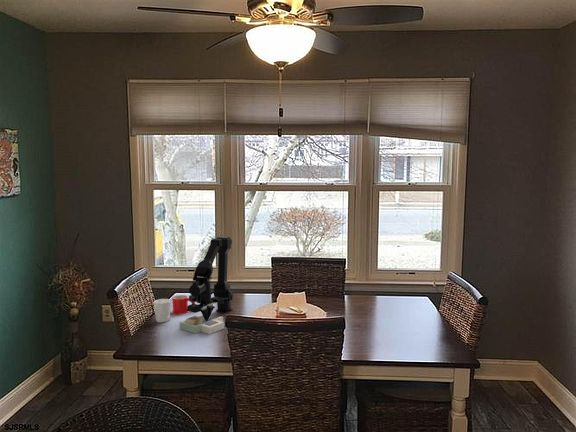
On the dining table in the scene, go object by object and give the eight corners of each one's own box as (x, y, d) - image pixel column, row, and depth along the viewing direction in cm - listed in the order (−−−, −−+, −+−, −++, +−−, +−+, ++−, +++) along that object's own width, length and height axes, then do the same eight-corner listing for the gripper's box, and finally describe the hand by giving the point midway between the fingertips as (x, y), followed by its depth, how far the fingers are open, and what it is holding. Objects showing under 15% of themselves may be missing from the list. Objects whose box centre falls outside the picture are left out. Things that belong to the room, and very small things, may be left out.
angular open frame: (207, 318, 250) (207, 312, 250) (231, 325, 239) (231, 319, 238) (179, 328, 237) (179, 322, 236) (203, 336, 225) (203, 329, 225)
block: (194, 325, 240) (194, 316, 239) (201, 328, 236) (201, 318, 236) (186, 328, 236) (186, 318, 235) (193, 331, 233) (192, 320, 232)
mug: (193, 314, 257) (192, 299, 256) (171, 314, 258) (170, 299, 257) (197, 309, 265) (196, 295, 264) (175, 309, 266) (174, 295, 265)
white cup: (166, 323, 244) (165, 303, 243) (152, 322, 246) (151, 303, 244) (173, 318, 252) (172, 299, 250) (159, 317, 253) (158, 298, 252)
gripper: (208, 283, 252) (210, 312, 254) (179, 292, 238) (180, 323, 240) (223, 286, 245) (224, 317, 247) (193, 296, 231) (195, 328, 233)
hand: (206, 321), depth 242 cm, fingers closed
